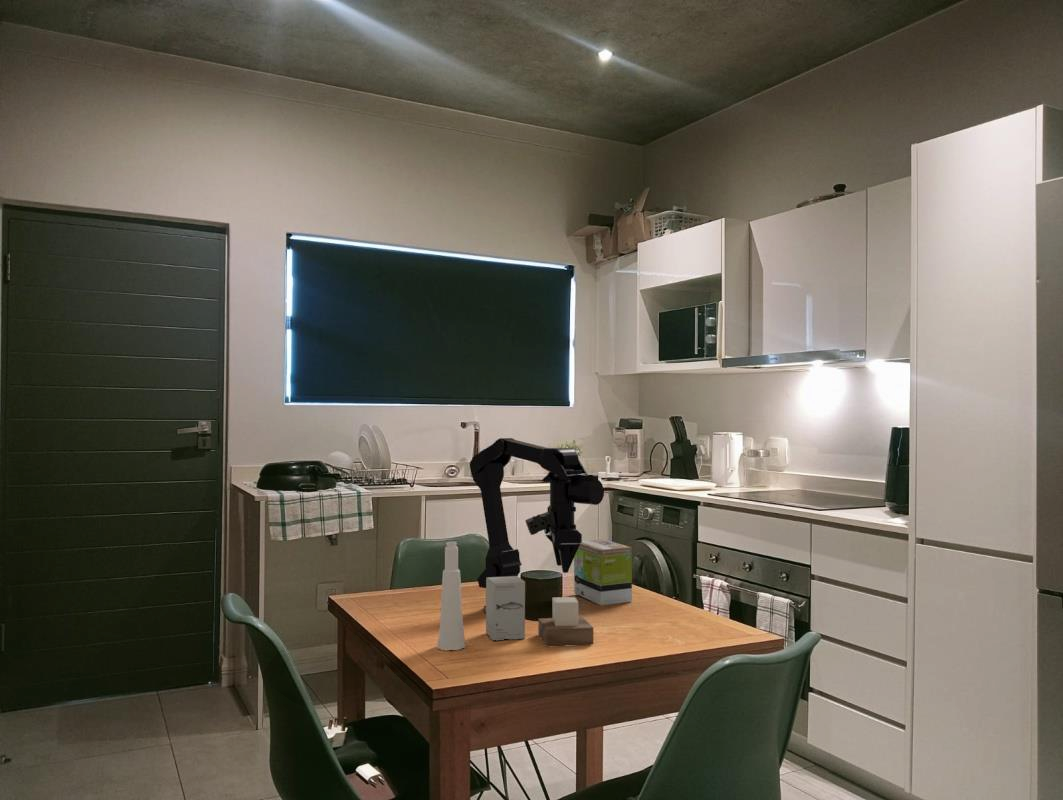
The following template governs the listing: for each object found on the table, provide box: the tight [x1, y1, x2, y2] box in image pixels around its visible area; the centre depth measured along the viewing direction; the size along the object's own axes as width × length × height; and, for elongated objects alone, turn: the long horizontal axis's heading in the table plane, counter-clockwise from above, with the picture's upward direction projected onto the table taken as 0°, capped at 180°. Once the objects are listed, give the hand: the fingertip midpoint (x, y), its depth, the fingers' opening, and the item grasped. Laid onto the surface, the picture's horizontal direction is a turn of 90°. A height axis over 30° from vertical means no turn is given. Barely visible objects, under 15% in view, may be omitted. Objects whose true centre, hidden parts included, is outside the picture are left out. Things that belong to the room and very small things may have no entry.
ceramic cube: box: [551, 596, 579, 626], centre depth 179 cm, size 5×5×5 cm
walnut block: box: [537, 616, 594, 647], centre depth 179 cm, size 10×10×4 cm
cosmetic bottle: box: [436, 541, 466, 651], centre depth 173 cm, size 6×6×22 cm
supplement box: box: [485, 575, 526, 641], centre depth 181 cm, size 7×7×13 cm
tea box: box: [573, 539, 633, 606], centre depth 220 cm, size 15×10×15 cm, turn 25°
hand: (562, 569), depth 191 cm, fingers open, 9 cm apart
